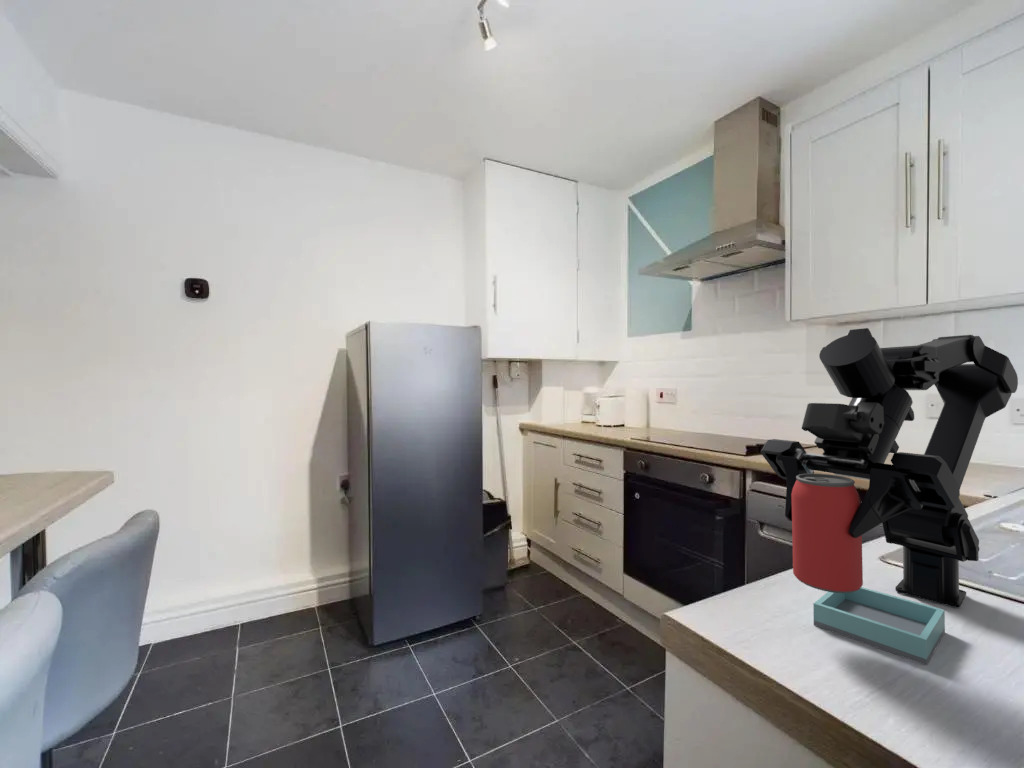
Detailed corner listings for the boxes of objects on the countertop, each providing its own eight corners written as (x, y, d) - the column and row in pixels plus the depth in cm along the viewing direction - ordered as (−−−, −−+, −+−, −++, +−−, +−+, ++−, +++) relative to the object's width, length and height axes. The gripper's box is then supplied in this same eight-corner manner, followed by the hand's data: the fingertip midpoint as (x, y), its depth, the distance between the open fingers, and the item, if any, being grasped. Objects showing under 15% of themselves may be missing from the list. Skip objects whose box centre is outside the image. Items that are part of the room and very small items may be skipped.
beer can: (797, 566, 57) (795, 470, 57) (864, 580, 52) (861, 476, 52) (788, 585, 51) (786, 479, 52) (861, 601, 47) (859, 487, 47)
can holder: (841, 600, 61) (841, 581, 61) (944, 632, 53) (944, 610, 53) (813, 625, 55) (813, 603, 55) (926, 665, 47) (926, 639, 47)
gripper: (767, 380, 62) (712, 468, 57) (944, 376, 45) (887, 501, 40) (804, 433, 66) (755, 521, 61) (981, 448, 49) (932, 571, 44)
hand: (818, 526), depth 51 cm, fingers closed on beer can, 6 cm apart
